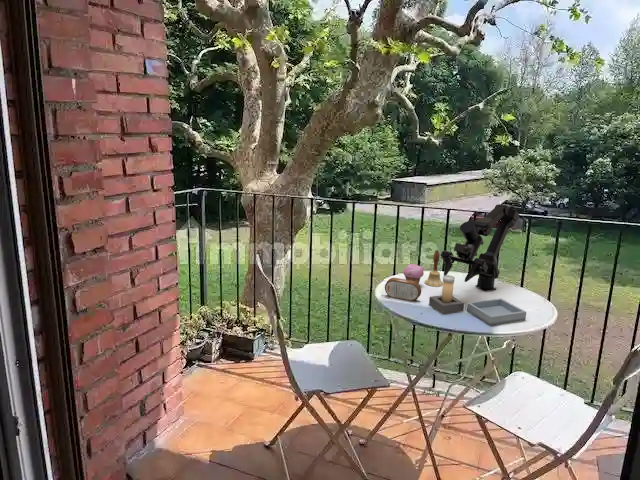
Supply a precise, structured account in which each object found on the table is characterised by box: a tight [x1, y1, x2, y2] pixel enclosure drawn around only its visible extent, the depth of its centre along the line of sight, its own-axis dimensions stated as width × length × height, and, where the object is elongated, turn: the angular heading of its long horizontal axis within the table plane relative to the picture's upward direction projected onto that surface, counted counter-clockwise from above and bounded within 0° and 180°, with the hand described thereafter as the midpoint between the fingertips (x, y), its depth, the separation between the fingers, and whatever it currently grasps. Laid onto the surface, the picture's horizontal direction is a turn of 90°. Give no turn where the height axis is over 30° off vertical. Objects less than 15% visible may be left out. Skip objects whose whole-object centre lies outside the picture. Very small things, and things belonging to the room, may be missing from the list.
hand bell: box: [424, 249, 443, 288], centre depth 210 cm, size 8×8×16 cm
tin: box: [384, 277, 422, 302], centre depth 193 cm, size 15×3×8 cm, turn 65°
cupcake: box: [403, 263, 425, 285], centre depth 207 cm, size 9×9×10 cm
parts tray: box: [466, 298, 527, 327], centre depth 178 cm, size 16×14×4 cm
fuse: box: [441, 274, 455, 303], centre depth 183 cm, size 4×4×13 cm
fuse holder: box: [428, 294, 465, 315], centre depth 184 cm, size 10×10×4 cm
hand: (454, 278), depth 185 cm, fingers open, 9 cm apart
